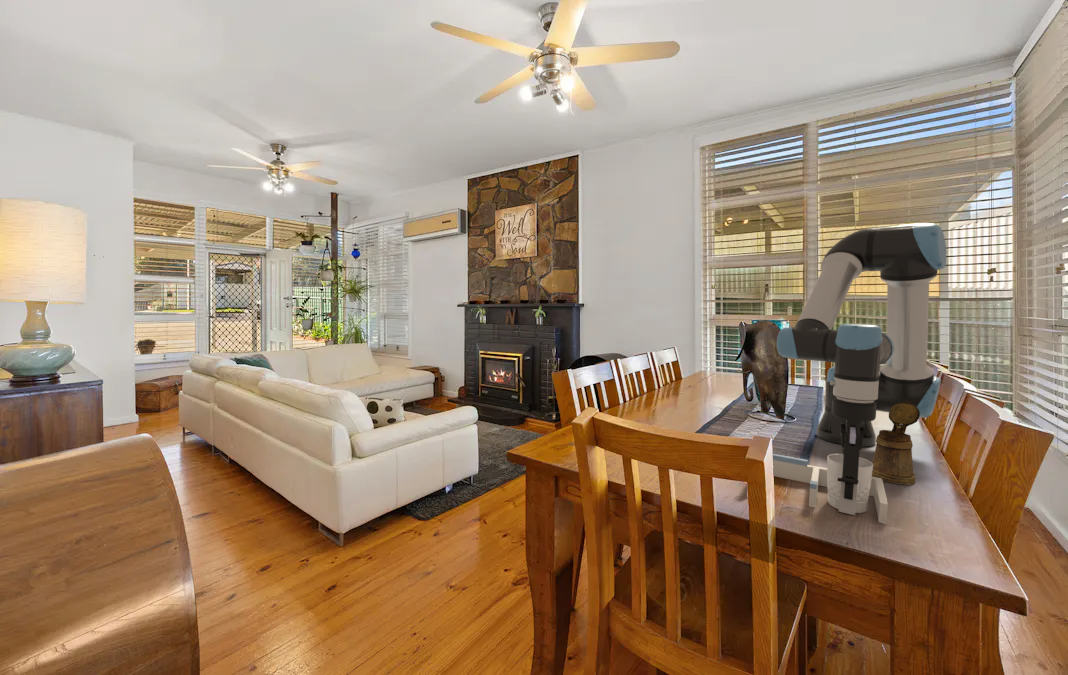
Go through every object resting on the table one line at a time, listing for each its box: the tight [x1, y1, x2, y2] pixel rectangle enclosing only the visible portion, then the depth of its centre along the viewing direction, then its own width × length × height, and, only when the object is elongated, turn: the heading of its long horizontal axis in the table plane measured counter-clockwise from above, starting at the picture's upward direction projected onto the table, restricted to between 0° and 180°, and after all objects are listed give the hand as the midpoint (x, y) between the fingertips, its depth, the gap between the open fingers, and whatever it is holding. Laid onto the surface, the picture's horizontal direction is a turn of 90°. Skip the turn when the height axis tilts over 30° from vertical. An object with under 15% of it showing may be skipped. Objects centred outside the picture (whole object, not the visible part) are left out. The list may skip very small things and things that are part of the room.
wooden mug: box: [871, 401, 920, 486], centre depth 110 cm, size 9×14×18 cm, turn 127°
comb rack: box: [772, 453, 889, 525], centre depth 100 cm, size 15×25×5 cm, turn 56°
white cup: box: [826, 453, 873, 514], centre depth 94 cm, size 8×8×10 cm
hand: (846, 504), depth 95 cm, fingers open, 8 cm apart
